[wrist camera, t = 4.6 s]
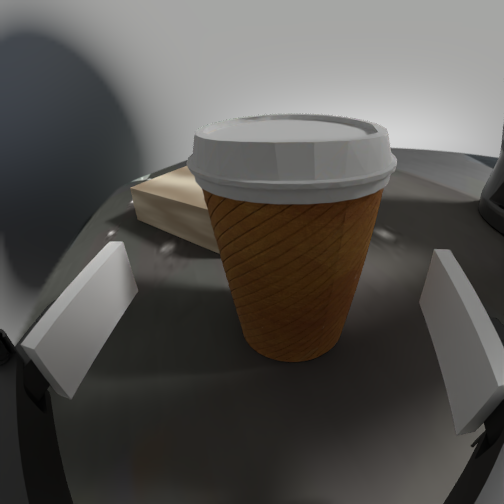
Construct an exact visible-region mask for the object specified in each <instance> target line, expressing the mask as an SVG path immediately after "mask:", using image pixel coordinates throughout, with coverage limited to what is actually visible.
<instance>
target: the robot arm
mask: <svg viewBox="0 0 504 504" xmlns="http://www.w3.org/2000/svg"><path fill="white" fill-rule="evenodd" d="M478 208H479V212H480V214H481V215H482V217H483V218H484V219H485V220H486V221H487V222H488V223H489V224H490V225H491V226H493V227H494V228H495V229H497V230H498V231H499V232H501V233H502V234H504V126H503V135H502V145H501V153H500V156H499V159H498V161H497V163H496V165H495V167H494V169H493V171H492V173H491V175H490V177H489V179H488V181H487V183H486V185H485V186H484V188H483V190H482V193H481V197H480V202H479V207H478ZM137 292H138V288H137V285H136V282H135V279H134V276H133V272H132V269H131V266H130V263H129V260H128V256H127V253H126V250H125V246H124V243H123V242H109V243H108V244H107V245H106V246H105V247H104V248H103V249H102V250H101V251H100V252H99V253H98V254H97V255H96V256H95V257H94V259H93V260H92V261H91V262H90V263H89V264H88V265H87V266H86V267H85V268H84V269H83V270H82V271H81V273H80V274H79V275H78V276H77V277H76V278H75V279H74V280H73V281H72V283H71V284H70V285H69V286H68V287H67V288H66V289H65V291H64V292H63V293H62V294H61V295H60V296H59V297H58V298H57V299H56V300H55V301H53V302H52V303H51V304H49V305H48V306H47V307H46V309H45V310H44V311H43V312H42V313H41V316H39V317H38V318H37V319H36V322H34V323H33V324H32V326H31V327H30V328H29V329H28V331H27V332H26V333H25V334H24V336H23V337H22V338H21V340H20V341H19V342H18V343H17V345H16V346H15V347H14V345H13V344H12V342H11V341H10V339H9V338H8V336H7V334H6V333H5V332H4V331H3V330H2V329H0V504H73V501H72V498H71V495H70V491H69V488H68V484H67V481H66V477H65V473H64V469H63V465H62V461H61V456H60V451H59V447H58V442H57V436H56V431H55V425H54V419H53V412H52V405H51V397H50V394H49V392H48V391H47V389H48V387H49V385H51V387H52V388H53V389H54V390H55V392H56V393H57V394H59V395H61V396H64V397H66V398H69V399H72V397H73V396H74V394H75V392H76V390H77V389H78V387H79V385H80V383H81V382H82V380H83V378H84V377H85V375H86V373H87V372H88V370H89V368H90V366H91V365H92V363H93V361H94V360H95V358H96V356H97V355H98V353H99V352H100V350H101V348H102V347H103V345H104V343H105V342H106V340H107V339H108V337H109V335H110V334H111V332H112V331H113V329H114V328H115V326H116V324H117V323H118V321H119V320H120V318H121V317H122V315H123V314H124V312H125V310H126V309H127V307H128V306H129V304H130V303H131V301H132V300H133V298H134V297H135V295H136V294H137ZM419 304H420V307H421V309H422V312H423V315H424V318H425V321H426V324H427V327H428V330H429V333H430V336H431V339H432V342H433V345H434V348H435V352H436V355H437V358H438V362H439V365H440V369H441V372H442V376H443V379H444V383H445V387H446V391H447V395H448V399H449V403H450V407H451V412H452V416H453V421H454V426H455V431H456V435H461V434H466V433H471V432H475V431H476V430H477V429H478V428H479V427H480V426H481V425H482V424H483V423H484V425H485V429H486V430H485V431H484V432H483V433H482V434H481V435H480V436H479V437H478V438H477V439H476V440H475V441H474V442H473V444H472V445H471V447H474V446H475V445H476V444H477V443H478V444H477V446H476V448H475V450H474V452H473V454H472V456H471V458H470V460H469V461H468V463H467V465H466V467H465V469H464V471H463V472H462V474H461V476H460V478H459V479H458V481H457V483H456V484H455V486H454V488H453V489H452V491H451V492H450V494H449V496H448V497H447V499H446V500H445V502H444V503H443V504H504V325H503V324H502V323H501V322H500V321H499V320H498V319H497V318H492V319H490V318H489V316H488V314H487V312H486V310H485V308H484V307H483V305H482V303H481V301H480V299H479V297H478V296H477V294H476V292H475V290H474V289H473V287H472V285H471V283H470V282H469V280H468V278H467V277H466V275H465V273H464V272H463V270H462V268H461V267H460V265H459V263H458V262H457V260H456V259H455V257H454V256H453V254H452V252H451V251H450V250H448V249H434V251H433V255H432V259H431V263H430V266H429V270H428V274H427V277H426V281H425V284H424V287H423V291H422V294H421V297H420V300H419Z"/></svg>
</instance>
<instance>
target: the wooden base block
mask: <svg viewBox="0 0 504 504" xmlns="http://www.w3.org/2000/svg"><path fill="white" fill-rule="evenodd" d="M131 193H132V198H133V202H134V206H135V211H136V215H137V219H138V220H140V221H142V222H144V223H147V224H149V225H151V226H154V227H156V228H159V229H161V230H163V231H166V232H168V233H170V234H173V235H175V236H178V237H180V238H182V239H185V240H187V241H190V242H192V243H194V244H197V245H199V246H202V247H204V248H207V249H209V250H211V251H214V252H216V253H219V254H220V252H219V249H218V245H217V242H216V239H215V236H214V231H213V228H212V225H211V220H210V217H209V213H208V209H207V206H206V203H205V200H204V194H203V191H202V188H201V187H200V186H199V185H198V184H197V183H196V181H195V177H194V175H193V174H192V173H191V172H190V170H189V169H188V167H187V166H185V167H183V168H180V169H177V170H175V171H172V172H169V173H167V174H164V175H161V176H159V177H156V178H154V179H151V180H149V181H146V182H144V183H141V184H139V185H136V186H134V187H131Z"/></svg>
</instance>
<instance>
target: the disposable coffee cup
mask: <svg viewBox="0 0 504 504" xmlns="http://www.w3.org/2000/svg"><path fill="white" fill-rule="evenodd" d="M396 165H397V159H396V157H395V156H394V155H393V154H392V153H391V149H390V143H389V137H388V132H387V129H386V128H384V127H382V126H380V125H378V124H375V123H372V122H368V121H364V120H360V119H355V118H348V117H341V116H332V115H319V114H270V115H258V116H248V117H241V118H234V119H229V120H225V121H219V122H216V123H212V124H210V125H206V126H203V127H201V128H199V129H198V130H196V131H195V136H194V146H193V154H192V155H191V156H190V157H189V158H188V160H187V167H188V169H189V170H190V172H191V173H192V174H193V175H194V177H195V181H196V183H197V184H198V185H199V186H200V187H201V188H202V191H203V194H204V200H205V203H206V206H207V209H208V213H209V217H210V220H211V225H212V228H213V231H214V236H215V239H216V242H217V245H218V249H219V252H220V257H221V260H222V263H223V267H224V270H225V273H226V277H227V280H228V283H229V288H230V290H231V294H232V297H233V300H234V304H235V307H236V308H237V309H236V311H237V314H238V316H239V320H240V323H241V327H242V330H243V334H244V337H245V339H246V341H247V342H248V344H249V345H250V346H251V347H252V348H253V349H254V350H255V351H257V352H258V353H260V354H262V355H263V356H265V357H268V358H271V359H274V360H278V361H285V362H301V361H307V360H311V359H314V358H317V357H319V356H321V355H322V354H324V353H326V352H328V351H329V350H330V349H331V348H332V347H334V345H335V344H336V343H337V341H338V340H339V337H340V335H341V332H342V329H343V326H344V323H345V320H346V318H347V315H348V312H349V309H350V306H351V303H352V300H353V297H354V294H355V291H356V288H357V284H358V281H359V278H360V275H361V272H362V268H363V265H364V261H365V258H366V254H367V251H368V247H369V244H370V240H371V236H372V233H373V229H374V225H375V221H376V217H377V213H378V209H379V205H380V201H381V197H382V192H383V189H384V187H385V186H386V185H387V184H388V182H389V178H390V174H391V173H393V172H394V171H395V168H396Z"/></svg>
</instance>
